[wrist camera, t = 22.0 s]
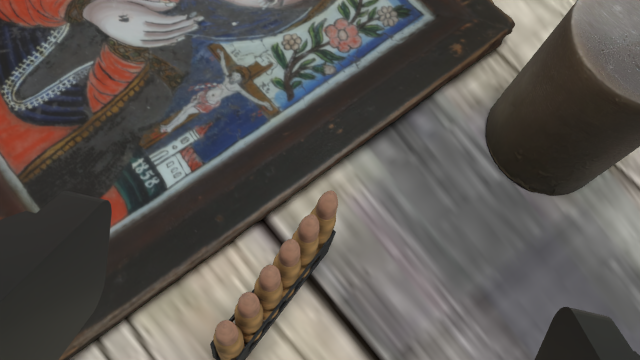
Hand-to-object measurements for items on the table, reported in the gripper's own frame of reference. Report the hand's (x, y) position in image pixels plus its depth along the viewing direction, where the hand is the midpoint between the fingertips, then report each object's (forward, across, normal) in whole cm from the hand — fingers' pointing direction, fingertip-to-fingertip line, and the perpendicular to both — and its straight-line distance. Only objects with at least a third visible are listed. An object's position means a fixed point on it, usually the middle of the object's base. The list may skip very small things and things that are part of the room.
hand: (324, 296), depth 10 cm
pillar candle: (+38, -17, +5) cm, 42 cm away
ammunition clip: (+26, +1, +18) cm, 31 cm away
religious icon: (+42, +15, +3) cm, 45 cm away
